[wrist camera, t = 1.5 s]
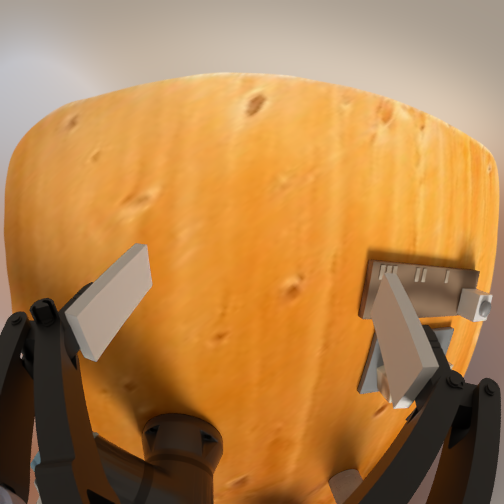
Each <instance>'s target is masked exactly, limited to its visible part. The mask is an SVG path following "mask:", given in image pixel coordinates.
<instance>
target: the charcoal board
mask: <svg viewBox="0 0 504 504" xmlns="http://www.w3.org/2000/svg"><path fill="white" fill-rule="evenodd" d="M432 330H433V331H434V332H435V334H436V336H437V338H438V342H439V343H440V345H441V348H442V349H443V352H444V354H445V355H446V352H447V349H448V347H449V344H450V341H451V337H452V334H453V331H454V328H452V327H444V328H434V329H432ZM383 365H384V362H383V358H382V354H381V350H380V346H379V342H378V338H377V335H376V332H375V333H374V337H373V341H372V345H371V348H370V352H369V355H368V359H367V362H366V365H365V368H364V372H363V375H362V378H361V381H360V384H359V387H358V390H357V391H358V392H359V394H364V393H371V392H378V391H379V390H378V389H377V368H378V367H380V366H383Z"/></svg>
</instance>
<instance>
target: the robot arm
mask: <svg viewBox="0 0 504 504" xmlns="http://www.w3.org/2000/svg"><path fill="white" fill-rule="evenodd" d="M151 287H152V278H151V272H150V265H149V258H148V250H147V245H145V244H137V243H136V244H134V245H133V246H132V247H131V248H130V249H129V250H128V251H127V252H126V253H124V254H123V255H122V256H121V257H120V258H119V259H118V260H117V261H116V262H115V263H114V264H113V265H111V266H110V267H109V268H108V269H107V270H106V271H105V272H104V273H103V274H102V275H101V276H100V277H99V278H98V279H97V280H96V281H95V282H94V283H93V282H91V283H89V284H87V285H86V286H84V287H83V288H82V289H81V290H80V291H78V292H77V294H75V295H74V296H73V299H72V298H71V299H70V300H69V301H68V302H67V304H66V305H65V306H64V307H63V308H62V309H61V310H60V311H59V312H58V311H57V309H56V306H55V304H54V301H53V300H52V299H49V298H44V299H41V300H38V301H36V302H35V303H34V304H33V305H32V306H31V308H30V312H31V314H32V316H33V319H34V321H30V320H29V319H28V317H27V315H26V313H24V312H16V313H14V314H12V315H11V316H10V317H9V318H8V320H7V322H6V324H5V326H4V328H3V330H2V332H1V335H0V504H27V502H28V496H29V486H30V485H29V484H30V466H31V468H32V469H33V471H34V472H35V477H36V479H35V482H34V484H35V486H36V489H37V491H38V493H39V496H40V497H39V499H38V501H37V503H36V504H213V474H214V471H215V469H216V467H217V465H218V463H219V461H220V459H221V457H222V454H223V440H222V437H221V435H220V433H219V432H218V431H217V430H216V429H215V428H214V427H213V426H212V425H210V424H209V423H207V422H205V421H203V420H201V419H199V418H196V417H193V416H189V415H184V414H163V415H159V416H156V417H154V418H152V419H151V420H149V421H148V422H147V424H146V425H145V427H144V430H143V434H142V445H143V452H144V458H145V461H144V460H142V459H140V458H138V457H136V456H134V455H133V454H131V453H129V452H127V451H125V450H123V449H122V448H120V447H118V446H116V445H114V444H113V443H111V442H109V441H108V440H106V439H104V438H103V437H101V436H100V435H99V434H98V433H97V432H93V431H92V428H91V424H90V420H89V416H88V411H87V406H86V401H85V396H84V391H83V385H82V379H81V372H80V365H79V358H78V356H77V352H78V351H79V350H81V352H82V354H83V356H84V357H85V358H87V359H90V360H92V361H95V362H97V360H98V359H99V358H100V356H101V355H102V353H103V352H104V350H105V349H106V348H107V346H108V345H109V343H110V342H111V340H112V339H113V338H114V336H115V335H116V333H117V332H118V331H119V329H120V328H121V327H122V325H123V324H124V322H125V321H126V320H127V318H128V317H129V316H130V314H131V313H132V312H133V310H134V309H135V308H136V306H137V305H138V304H139V302H140V301H141V300H142V298H143V297H144V296H145V294H146V293H147V292H148V290H149V289H150V288H151ZM370 313H371V317H372V320H373V324H374V327H375V331H376V335H377V338H378V342H379V346H380V350H381V354H382V358H383V362H384V366H385V371H386V375H387V379H388V384H389V389H390V393H391V398H392V403H393V409H396V408H409V406H410V405H411V404H412V403H413V401H414V400H415V402H416V406H417V407H416V408H415V409H414V411H413V412H412V413H411V414H410V415H409V416H408V417H407V419H406V420H407V422H406V423H405V425H404V427H403V428H402V430H401V431H400V433H399V434H398V436H397V437H396V439H395V440H394V441H393V443H392V444H391V446H390V447H389V449H388V450H387V451H386V453H385V454H384V455H383V457H382V458H381V459H380V461H379V462H378V463H377V465H376V466H375V467H374V468H373V470H372V471H371V472H370V473H369V474H368V476H367V477H366V478H365V479H364V480H363V482H362V483H361V484H360V485H359V486H358V487H357V488H356V490H355V491H354V492H353V493H352V494H351V495H350V496H349V497H348V498H347V499H346V500H345V501H344V502H343V503H342V504H407V503H408V502H409V501H410V499H411V498H412V496H413V495H414V493H415V492H416V490H417V489H418V487H419V485H420V484H421V482H422V480H423V479H424V477H425V476H426V474H427V472H428V470H429V469H430V467H431V465H432V463H433V461H434V460H435V458H436V456H437V454H438V452H439V450H440V448H441V446H442V444H443V442H444V444H443V448H442V453H441V457H440V460H439V464H438V468H437V471H436V475H435V478H434V481H433V484H432V487H431V491H430V493H429V496H428V499H427V502H426V504H490V501H491V496H492V492H493V487H494V481H495V475H496V469H497V462H498V453H499V442H500V424H501V423H500V422H501V397H500V388H499V386H498V384H497V383H496V382H495V381H493V380H492V379H490V378H484V379H482V380H481V382H480V383H479V384H478V385H474V384H469V383H465V380H464V378H463V377H462V375H461V374H459V373H458V372H456V371H454V370H451V368H450V366H449V363H448V361H447V359H446V356H445V354H444V352H443V349H442V348H441V345H440V343H439V342H438V338H437V336H436V334H435V332H434V331H433V330H432V329H431V328H430V327H429V326H428V325H421V323H420V320H419V318H418V316H417V314H416V312H415V310H414V308H413V306H412V304H411V301H410V299H409V297H408V295H407V293H406V291H405V290H404V288H403V286H402V284H401V282H400V280H399V278H398V276H397V274H393V273H384V274H383V277H382V280H381V283H380V287H379V290H378V293H377V295H376V298H375V301H374V304H373V307H372V310H371V312H370ZM21 353H22V354H23V357H22V359H21V358H20V355H21ZM34 418H35V420H36V421H35V422H36V431H37V439H38V447H39V451H38V453H37V454H36V456H35V458H34V459H33V461H32V462H31V464H30V458H31V444H32V433H33V426H34Z"/></svg>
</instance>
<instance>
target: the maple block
mask: <svg viewBox="0 0 504 504" xmlns="http://www.w3.org/2000/svg"><path fill="white" fill-rule="evenodd" d="M377 389H378V390H379V391H380V393H381V394H382V395H383V396H384V397H385V399H386V400H387V401H388V402H389V403H391V402H392V398H391V393H390V389H389V384H388V379H387V375H386V371H385V366H384V365H383V366H380V367H378V368H377Z"/></svg>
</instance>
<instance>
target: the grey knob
mask: <svg viewBox="0 0 504 504" xmlns="http://www.w3.org/2000/svg"><path fill="white" fill-rule="evenodd" d="M492 296H493V295H491V294H489V293H486V292H483V291H481V290H478V289H462V293H461V298H460V302H459V306H458V310H457V313H456V314H458V315H460V316H462V317H464V318H466V319H468V320H470V321H472V322H477V321H484V320H486V319H487V316H488V314H489V312H490V310H491V300H492Z"/></svg>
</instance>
